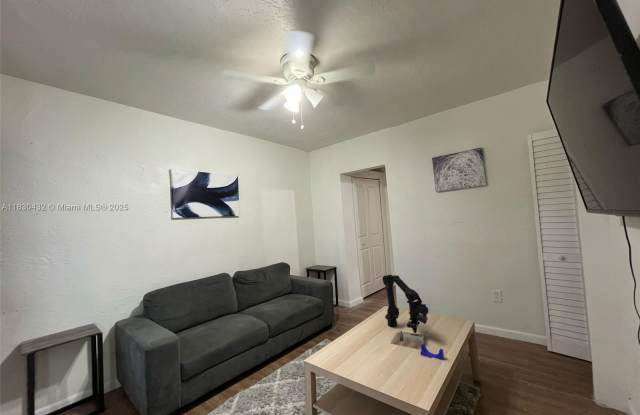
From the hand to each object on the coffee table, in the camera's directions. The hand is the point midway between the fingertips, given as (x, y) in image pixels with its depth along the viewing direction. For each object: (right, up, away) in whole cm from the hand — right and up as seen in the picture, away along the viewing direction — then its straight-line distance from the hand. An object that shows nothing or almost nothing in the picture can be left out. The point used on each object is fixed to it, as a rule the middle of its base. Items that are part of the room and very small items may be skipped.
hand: (415, 333), depth 177 cm
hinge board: (-5, -4, -4) cm, 8 cm away
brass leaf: (-3, -3, -6) cm, 7 cm away
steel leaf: (-5, -3, -6) cm, 9 cm away
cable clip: (+1, -3, -24) cm, 24 cm away
